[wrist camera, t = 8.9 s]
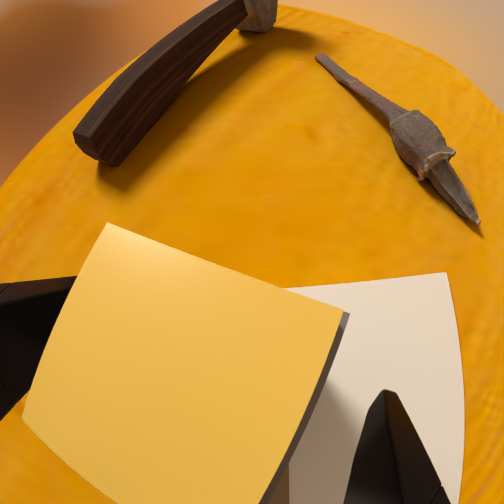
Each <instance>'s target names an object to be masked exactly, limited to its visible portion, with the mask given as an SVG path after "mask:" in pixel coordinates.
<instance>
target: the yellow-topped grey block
mask: <svg viewBox="0 0 504 504" xmlns="http://www.w3.org/2000/svg"><path fill="white" fill-rule="evenodd" d="M349 316H350V313H347V312H344V310H343V309H340V308H338V307H335V306H332V305H329V304H326V303H323V302H320V301H317V300H314V299H311V298H309V297H306V296H303V295H300V294H297V293H294V292H291V291H289V290H286V289H283V288H280V287H277V286H275V285H272V284H269V283H266V282H263V281H261V280H258V279H255V278H252V277H250V276H247V275H244V274H241V273H239V272H236V271H233V270H230V269H228V268H225V267H222V266H220V265H217V264H214V263H212V262H209V261H206V260H203V259H201V258H198V257H195V256H193V255H190V254H187V253H185V252H182V251H180V250H177V249H174V248H172V247H169V246H166V245H164V244H161V243H159V242H156V241H153V240H151V239H148V238H146V237H143V236H141V235H138V234H135V233H133V232H130V231H128V230H125V229H123V228H120V227H118V226H115V225H113V224H110V223H108V222H107V224H106V226H105V227H104V229H103V231H102V232H101V234H100V236H99V238H98V239H97V241H96V243H95V245H94V246H93V248H92V250H91V252H90V254H89V255H88V257H87V259H86V261H85V263H84V265H83V267H82V269H81V270H80V272H79V274H78V276H77V278H76V280H75V282H74V284H73V286H72V288H71V290H70V292H69V294H68V296H67V299H66V301H65V303H64V305H63V307H62V309H61V311H60V314H59V316H58V318H57V320H56V323H55V325H54V327H53V330H52V332H51V334H50V337H49V339H48V342H47V344H46V347H45V349H44V352H43V354H42V357H41V360H40V362H39V365H38V368H37V371H36V374H35V376H34V379H33V382H32V385H31V388H30V391H29V395H28V398H27V401H26V404H25V408H24V411H23V415H22V420H23V421H24V422H25V423H26V424H27V425H28V426H29V427H30V428H31V429H32V431H33V432H34V433H35V434H36V435H37V436H38V437H39V438H40V439H41V440H42V441H43V442H44V443H45V444H46V445H47V446H48V447H49V448H50V449H51V450H52V451H53V452H54V453H55V454H56V455H57V456H59V457H60V458H61V459H62V460H63V461H64V462H65V463H66V464H67V465H68V466H70V467H71V468H72V469H73V470H74V471H75V472H77V473H78V474H79V475H80V476H81V477H83V478H84V479H85V480H86V481H88V482H89V483H90V484H91V485H93V486H94V487H95V488H97V489H98V490H99V491H101V492H102V493H103V494H105V495H106V496H107V497H109V498H110V499H112V500H113V501H115V502H116V503H117V504H267V502H268V501H269V499H270V497H271V495H272V494H273V492H274V490H275V488H276V486H277V485H278V483H279V481H280V479H281V477H282V475H283V473H284V471H285V470H286V468H287V466H288V464H289V462H290V460H291V458H292V456H293V454H294V452H295V450H296V448H297V446H298V444H299V441H300V439H301V437H302V435H303V433H304V431H305V429H306V426H307V424H308V422H309V420H310V418H311V415H312V413H313V411H314V409H315V406H316V404H317V402H318V399H319V397H320V394H321V392H322V389H323V387H324V385H325V382H326V380H327V377H328V375H329V372H330V369H331V367H332V364H333V361H334V359H335V356H336V353H337V351H338V348H339V345H340V342H341V340H342V337H343V334H344V331H345V328H346V325H347V322H348V319H349Z"/></svg>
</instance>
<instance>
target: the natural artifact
mask: <svg viewBox="0 0 504 504" xmlns="http://www.w3.org/2000/svg"><path fill="white" fill-rule="evenodd" d="M315 59H316V61H318V62H319V63H321V64H322V65H323V66H324V67H325V68H326V69H327V70H328V71H329V72H330V73H331V74H332V75H333V76H334V77H335V79H336V80H337V81H339V82H342V83H343V84H344V85H346V86H347V87H349V88H350V89H351V90H353V91H354V92H355V93H357V94H358V95H360V96H361V97H362V98H364V99H365V100H366V101H367V102H369V103H370V104H371V105H372V106H373V107H375V108H376V109H377V110H378V111H379V112H380V113H381V114H382V115H383V116H384V117H385V119H386V120H387V121H388V122H389V125H390V132H389V134H390V136H391V138H392V141H393V144H394V147H395V150H396V151H397V153H398V155H399V156H400V157H401V158H402V159H403V160H404V161H405V162H406V163H407V164H408V165H410V166H411V167H413V168H414V169H415V170H416V171H417V173H418V175H419V177H418V178H417V180H418V181H420V180H424V179H425V178H426V177H427V178H428V179H429V180H430V181H431V183H432V184H433V186H434V187H435V189H436V190H437V191H438V193H439V194H440V195H441V196H442V197H443V198H444V199H445V200H446V201H447V202H448V203H449V204H450V205H451V206H452V207H453V208H454V209H455V211H456V212H457V213H458V214H459V215H461V216H463V217H465V218H466V219H468V220H469V221H470V222H475V223H476V224H477V225H479V224H480V223H481V221H480V220H479V219H478V214H477V211H476V209H475V207H474V205H473V203H472V200H471V198H470V196H469V195H468V193H467V191H466V189H465V188H464V185H463V184H462V182H461V181H460V179H459V178H458V176H457V175H456V173H455V171H454V169H453V168H452V166H451V165H450V163H449V160H450V159H451V157H453V156H454V155H455V154H456V152H455V150H454V149H452V148H449V147H447V145H446V142H445V138H444V137H443V136H442V133H441V132H440V130H439V129H438V127H437V126H436V125H434V123H433V122H432V121H431V120H430V119H429V118H428V117H426V116H425V115H423V114H422V113H421V112H420V111H419V110H412V111H408V110H405V109H404V108H402V107H400V106H398V105H397V104H395V103H393V102H391V101H390V100H388V99H386V98H385V97H383V96H381V95H380V94H378V93H377V92H375V91H374V90H372V89H370V88H369V87H367V86H366V85H365V84H363V83H362V82H360V81H359V80H358V79H357V78H355V77H353V76H351V75H350V74H348V73H347V72H346V71H345V70H343V69H342V68H341V67H339V66H338V65H337V64H336V63H335V62H334V61H332V60H331V59H330V58H329V57H328V56H326V55H325V54H323V53H320V54H317V55H316V56H315Z"/></svg>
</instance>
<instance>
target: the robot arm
mask: <svg viewBox="0 0 504 504" xmlns="http://www.w3.org/2000/svg"><path fill="white" fill-rule="evenodd" d="M76 278H77V276H71V277H62V278H52V279H42V280H33V281H23V282H13V283H3V284H0V421H1V420H2V419H3V418H4V417H5V415H6V414H7V413H8V412H9V411H10V410H11V409H12V408H13V407H14V406H15V404H16V403H17V402H18V401H19V400H20V399H21V398H22V397H23V396H24V395H25V394H26V393H27V392H28V391H29V390H30V388H31V385H32V382H33V379H34V376H35V374H36V371H37V368H38V365H39V362H40V360H41V357H42V354H43V352H44V349H45V347H46V344H47V342H48V339H49V337H50V334H51V332H52V330H53V327H54V325H55V323H56V320H57V318H58V316H59V314H60V311H61V309H62V307H63V305H64V303H65V301H66V299H67V296H68V294H69V292H70V290H71V288H72V286H73V284H74V282H75V280H76ZM441 485H442V483H441V481H440V479H439V477H438V474H437V472H436V470H435V468H434V466H433V464H432V462H431V459H430V457H429V455H428V453H427V451H426V449H425V447H424V445H423V443H422V441H421V439H420V437H419V435H418V433H417V431H416V429H415V427H414V425H413V423H412V421H411V419H410V417H409V415H408V413H407V411H406V410H405V408H404V406H403V404H402V402H401V400H400V398H399V396H398V394H397V393H396V392H394V391H390V390H387V389H383V390H382V391H381V392H380V393H379V394H378V396H377V397H376V399H375V400H374V402H373V403H372V404H371V406H370V407H369V409H368V412H367V414H366V418H365V422H364V425H363V429H362V432H361V436H360V439H359V442H358V445H357V449H356V452H355V455H354V459H353V463H352V468H351V472H350V477H349V481H348V486H347V490H346V494H345V498H344V502H343V504H451V503H450V500H449V498H448V496H447V494H446V492H445V490H444V487H443V486H441Z"/></svg>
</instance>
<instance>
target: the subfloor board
mask: <svg viewBox="0 0 504 504" xmlns="http://www.w3.org/2000/svg"><path fill="white" fill-rule="evenodd" d="M286 290H289V291H291V292H294V293H297V294H300V295H303V296H306V297H309V298H311V299H314V300H317V301H320V302H323V303H326V304H329V305H332V306H335V307H338V308H340V309H343V310H344V312H347V313H350V316H349V319H348V322H347V325H346V328H345V331H344V334H343V337H342V340H341V342H340V345H339V348H338V351H337V353H336V356H335V359H334V361H333V364H332V367H331V369H330V372H329V375H328V377H327V380H326V382H325V385H324V387H323V389H322V392H321V394H320V397H319V399H318V402H317V404H316V406H315V409H314V411H313V413H312V415H311V418H310V420H309V422H308V424H307V426H306V429H305V431H304V433H303V435H302V437H301V439H300V441H299V444H298V446H297V448H296V450H295V452H294V454H293V456H292V458H291V460H290V462H289V464H288V466H287V468H286V470H285V471H284V473H283V475H282V477H281V479H280V481H279V483H278V485H277V486H276V488H275V490H274V492H273V494H272V495H271V497H270V499H269V501H268V502H267V504H343V502H344V498H345V494H346V490H347V486H348V481H349V477H350V472H351V468H352V463H353V459H354V455H355V452H356V449H357V445H358V442H359V439H360V436H361V432H362V429H363V425H364V422H365V418H366V414H367V412H368V409H369V407H370V406H371V404H372V403H373V402H374V400H375V399H376V397H377V396H378V394H379V393H380V392H381V391H382V390H383V389H387V390H390V391H394V392H396V393H397V394H398V396H399V398H400V400H401V402H402V404H403V406H404V408H405V410H406V411H407V413H408V415H409V417H410V419H411V421H412V423H413V425H414V427H415V429H416V431H417V433H418V435H419V437H420V439H421V441H422V443H423V445H424V447H425V449H426V451H427V453H428V455H429V457H430V459H431V462H432V464H433V466H434V468H435V470H436V472H437V474H438V477H439V479H440V481H441V483H442V485H441V486H443V487H444V490H445V492H446V494H447V496H448V498H449V500H450V503H451V504H458V501H459V494H460V486H461V478H462V467H463V453H464V389H463V374H462V363H461V353H460V345H459V337H458V330H457V324H456V318H455V312H454V307H453V301H452V296H451V292H450V287H449V282H448V278H447V274H446V272H442V273H434V274H426V275H418V276H410V277H402V278H393V279H384V280H374V281H365V282H355V283H344V284H334V285H323V286H311V287H299V288H286Z"/></svg>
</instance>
